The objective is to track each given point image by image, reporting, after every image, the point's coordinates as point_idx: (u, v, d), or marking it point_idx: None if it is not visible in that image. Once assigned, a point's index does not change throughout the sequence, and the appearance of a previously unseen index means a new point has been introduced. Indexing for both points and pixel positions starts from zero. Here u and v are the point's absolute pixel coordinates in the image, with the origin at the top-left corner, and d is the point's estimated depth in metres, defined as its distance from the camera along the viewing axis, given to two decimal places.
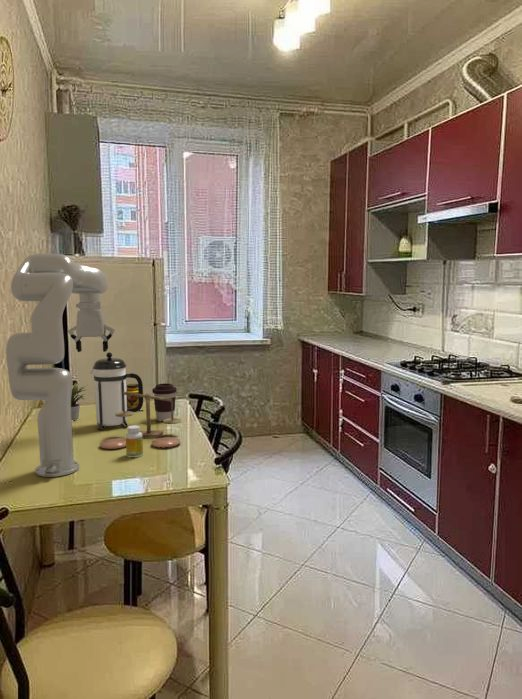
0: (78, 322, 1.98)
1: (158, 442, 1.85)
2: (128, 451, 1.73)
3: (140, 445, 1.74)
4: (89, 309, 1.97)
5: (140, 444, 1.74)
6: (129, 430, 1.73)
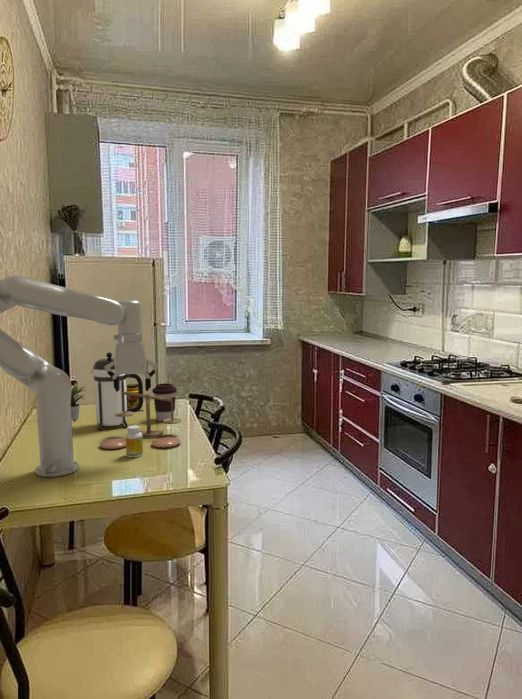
0: (117, 357, 1.69)
1: (158, 442, 1.85)
2: (128, 451, 1.73)
3: (140, 445, 1.74)
4: (130, 342, 1.67)
5: (140, 444, 1.74)
6: (129, 430, 1.73)
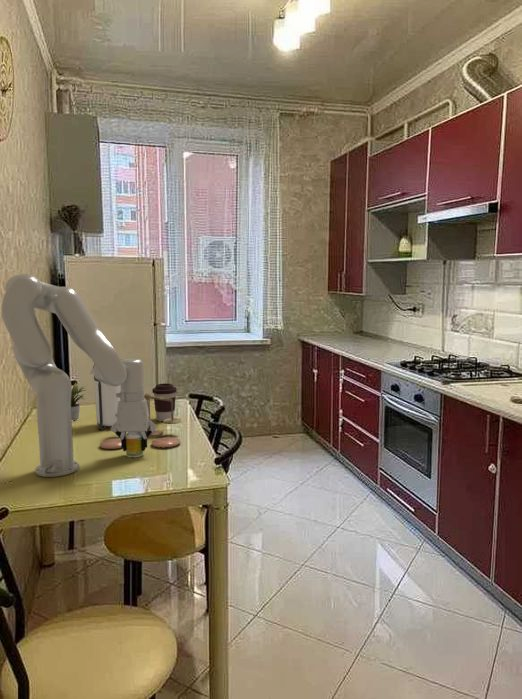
0: (119, 415, 1.71)
1: (158, 442, 1.85)
2: (128, 451, 1.73)
3: (140, 445, 1.74)
4: (132, 401, 1.69)
5: (140, 444, 1.74)
6: None
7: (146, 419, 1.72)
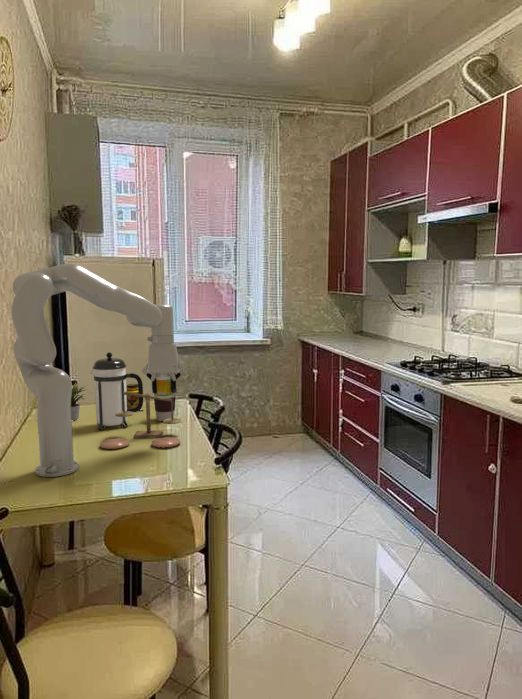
0: (150, 357, 1.80)
1: (158, 442, 1.85)
2: (158, 392, 1.82)
3: (170, 386, 1.83)
4: (163, 343, 1.79)
5: (170, 385, 1.83)
6: None
7: (176, 361, 1.81)
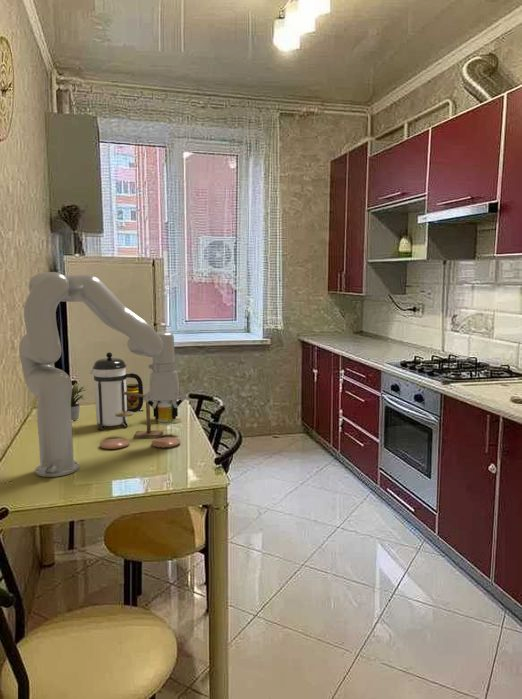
0: (152, 385, 1.81)
1: (158, 442, 1.85)
2: (160, 419, 1.83)
3: (171, 413, 1.84)
4: (164, 371, 1.80)
5: (171, 412, 1.84)
6: None
7: (177, 389, 1.82)
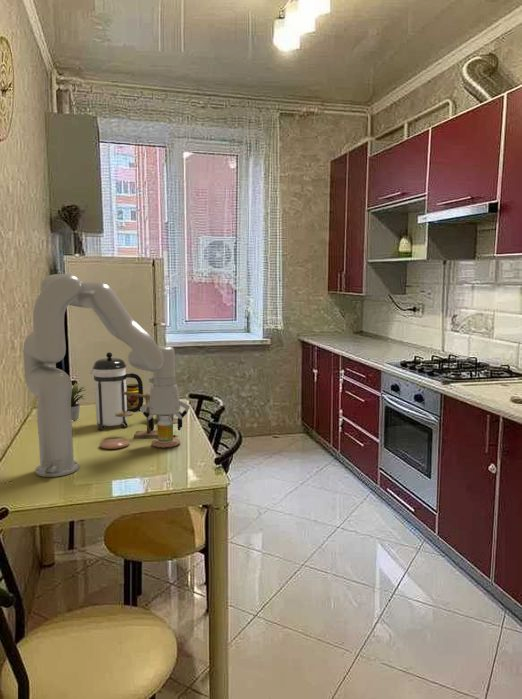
0: (152, 399, 1.82)
1: (158, 442, 1.85)
2: (160, 437, 1.84)
3: (171, 431, 1.85)
4: (164, 386, 1.80)
5: (171, 431, 1.85)
6: (161, 417, 1.84)
7: (177, 403, 1.83)
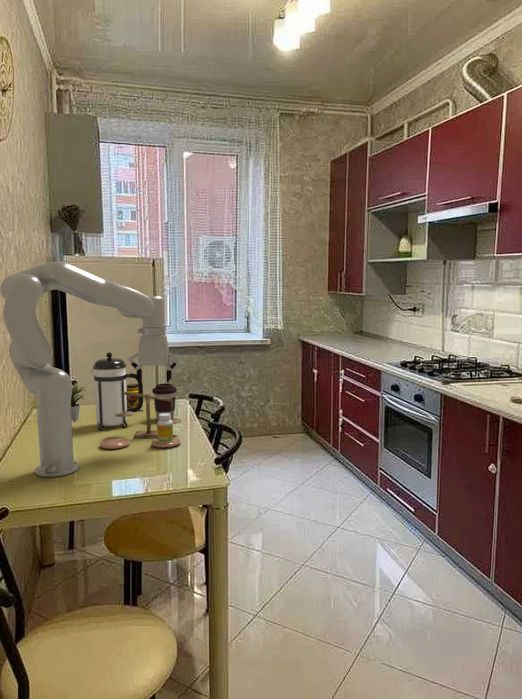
0: (140, 349, 1.79)
1: (158, 442, 1.85)
2: (160, 437, 1.84)
3: (171, 431, 1.85)
4: (153, 335, 1.78)
5: (171, 431, 1.85)
6: (161, 417, 1.84)
7: (166, 353, 1.80)
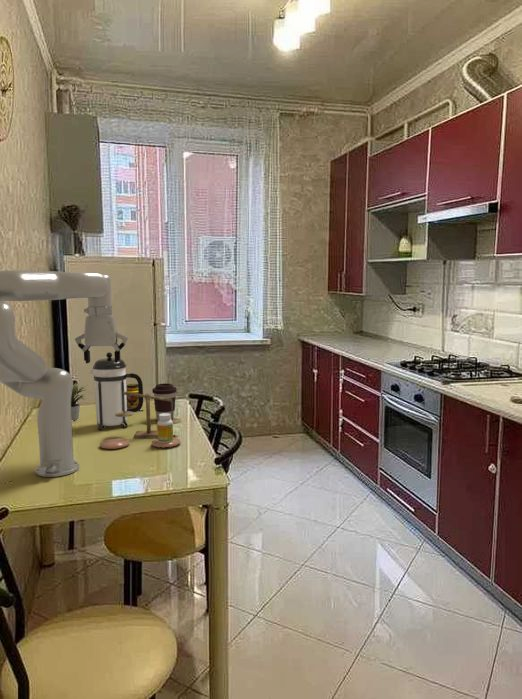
0: (86, 329, 1.74)
1: (158, 442, 1.85)
2: (160, 437, 1.84)
3: (171, 431, 1.85)
4: (99, 315, 1.73)
5: (171, 430, 1.85)
6: (161, 417, 1.84)
7: (113, 333, 1.75)
